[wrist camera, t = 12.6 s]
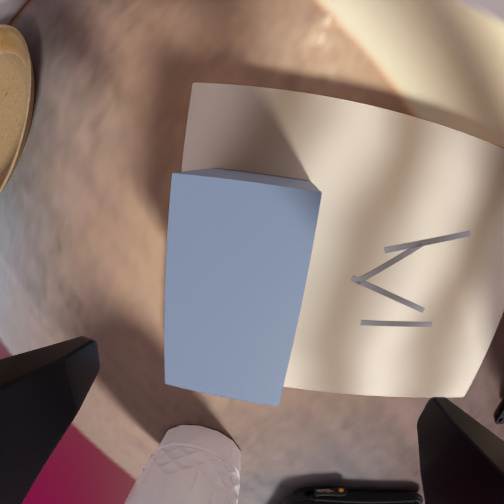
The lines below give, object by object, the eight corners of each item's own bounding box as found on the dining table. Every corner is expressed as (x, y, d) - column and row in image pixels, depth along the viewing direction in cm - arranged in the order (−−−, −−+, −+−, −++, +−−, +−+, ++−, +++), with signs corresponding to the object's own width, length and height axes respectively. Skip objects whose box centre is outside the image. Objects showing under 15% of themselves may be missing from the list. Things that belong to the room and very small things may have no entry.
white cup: (154, 458, 24) (116, 541, 15) (160, 405, 22) (108, 506, 12) (237, 483, 24) (217, 573, 14) (261, 435, 22) (242, 549, 12)
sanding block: (310, 180, 15) (321, 192, 9) (284, 331, 17) (278, 406, 11) (216, 167, 15) (171, 172, 10) (202, 317, 18) (165, 383, 12)
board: (524, 163, 14) (538, 164, 13) (456, 384, 19) (464, 397, 17) (200, 88, 16) (192, 82, 14) (178, 351, 20) (171, 364, 19)
